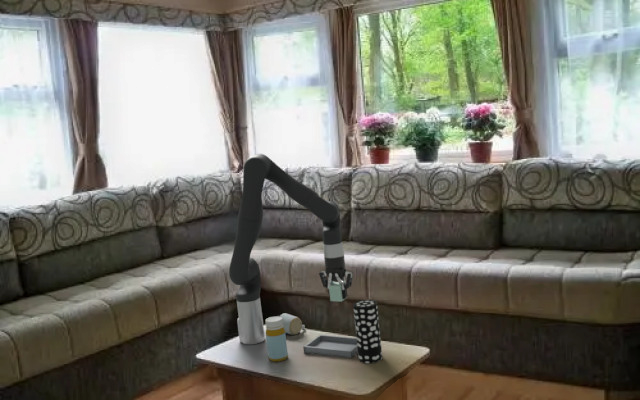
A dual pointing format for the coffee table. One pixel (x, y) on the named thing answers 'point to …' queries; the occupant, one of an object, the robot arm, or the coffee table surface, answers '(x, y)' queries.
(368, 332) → the white-spotted black cylinder
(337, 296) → the sage block
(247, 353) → the coffee table surface
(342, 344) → the gray tray
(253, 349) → the coffee table surface
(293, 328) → the ceramic mug
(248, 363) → the coffee table surface
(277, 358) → the bottle
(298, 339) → the coffee table surface
